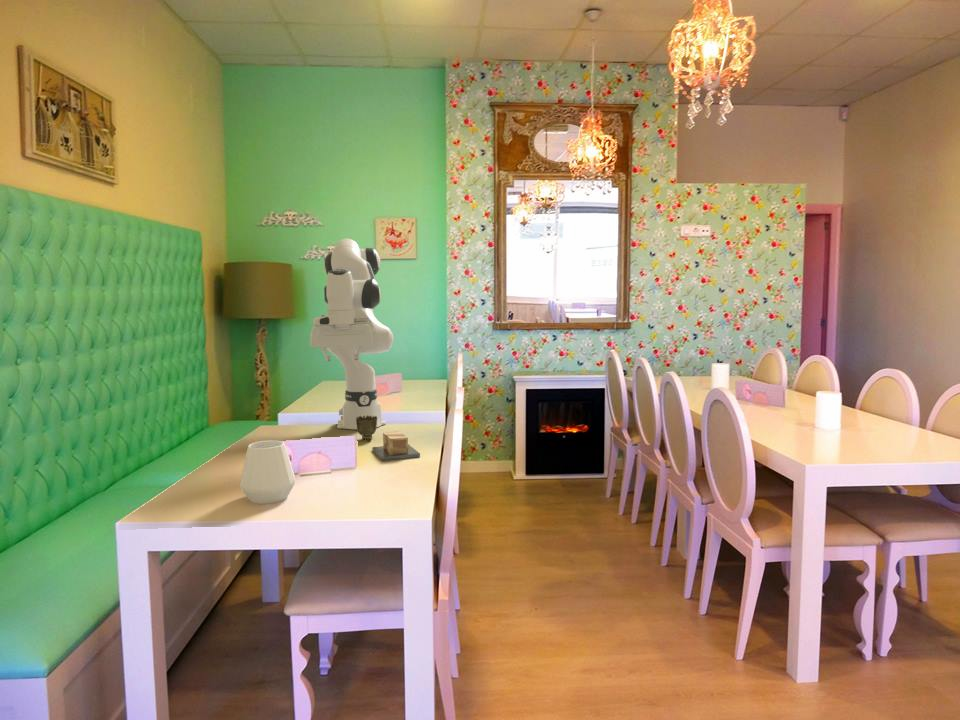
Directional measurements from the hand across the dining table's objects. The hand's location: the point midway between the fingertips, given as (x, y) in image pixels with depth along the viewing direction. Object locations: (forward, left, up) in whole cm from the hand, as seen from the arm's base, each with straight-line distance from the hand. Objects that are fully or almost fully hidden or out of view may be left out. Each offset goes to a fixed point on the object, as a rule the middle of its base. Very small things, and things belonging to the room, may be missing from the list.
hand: (342, 360), depth 216 cm
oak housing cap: (+17, +13, -28) cm, 35 cm away
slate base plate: (+17, +13, -29) cm, 36 cm away
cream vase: (+47, -28, -29) cm, 62 cm away
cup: (-7, +9, -29) cm, 31 cm away
